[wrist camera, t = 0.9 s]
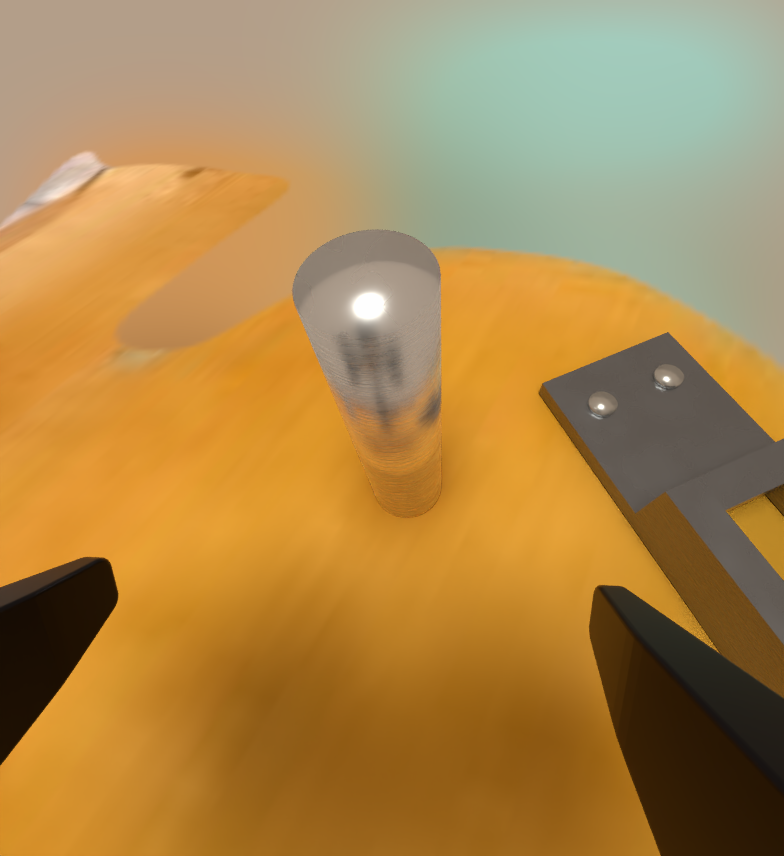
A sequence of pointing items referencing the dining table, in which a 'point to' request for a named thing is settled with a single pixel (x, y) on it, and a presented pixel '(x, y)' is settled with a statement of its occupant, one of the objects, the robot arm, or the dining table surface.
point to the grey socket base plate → (685, 486)
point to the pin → (381, 356)
